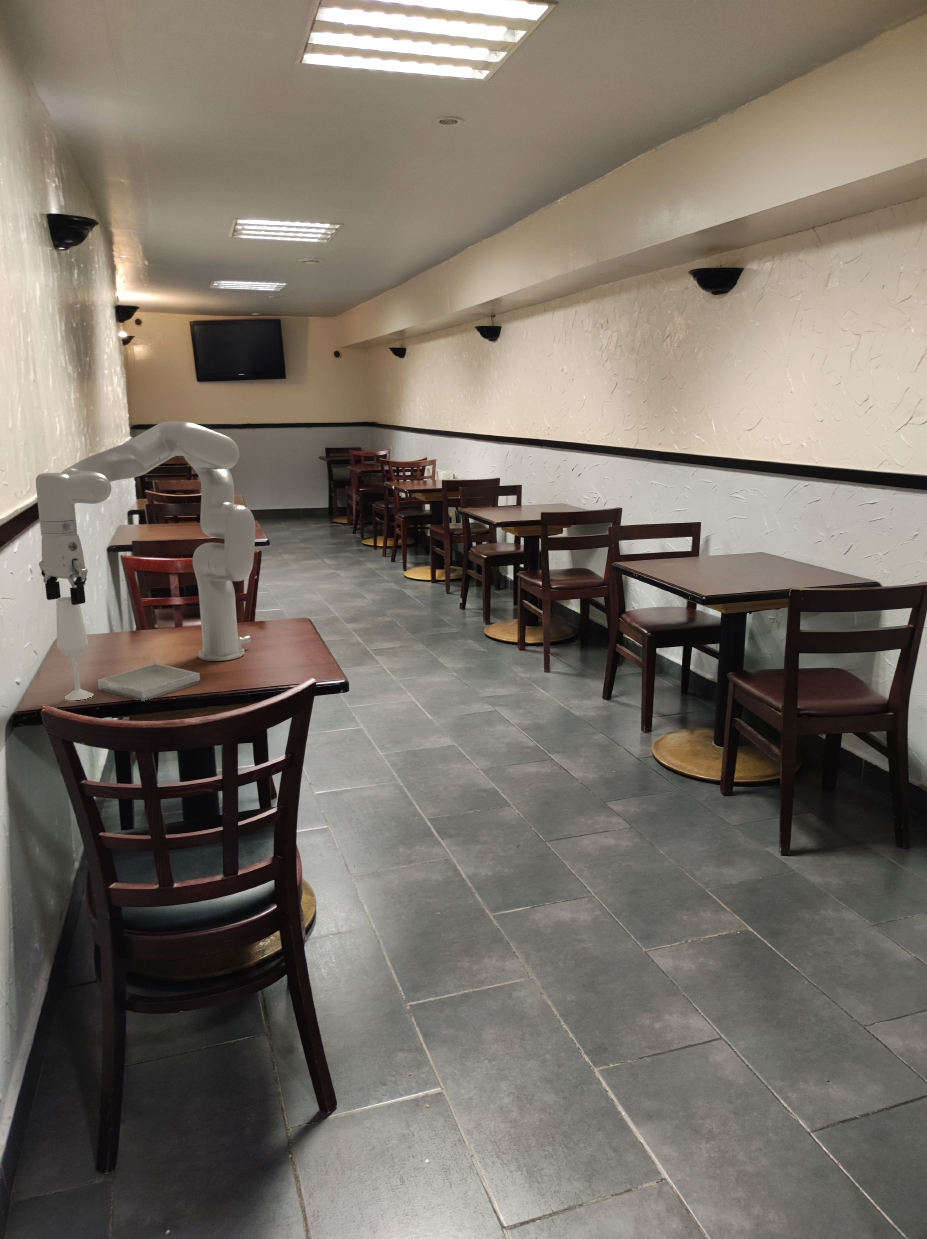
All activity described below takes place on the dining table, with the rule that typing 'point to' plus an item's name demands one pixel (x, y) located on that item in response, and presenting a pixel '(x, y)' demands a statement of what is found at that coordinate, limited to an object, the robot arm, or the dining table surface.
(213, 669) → the dining table surface
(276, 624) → the dining table surface
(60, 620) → the champagne flute
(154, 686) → the serving tray
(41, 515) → the robot arm
